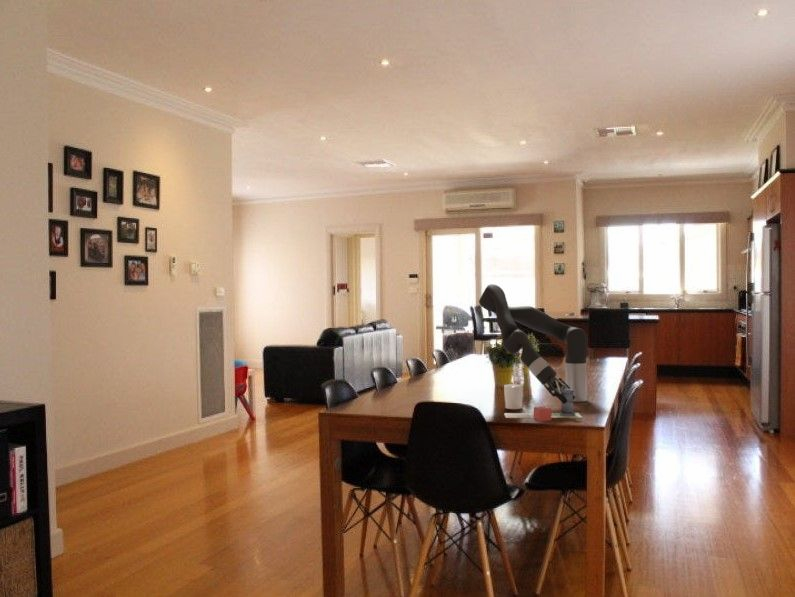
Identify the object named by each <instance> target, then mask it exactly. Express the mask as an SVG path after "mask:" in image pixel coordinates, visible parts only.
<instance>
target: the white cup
mask: <svg viewBox="0 0 795 597" xmlns="http://www.w3.org/2000/svg"><path fill="white" fill-rule="evenodd" d="M503 391H504V393H503V394H504V395H503V396H504V404H505V409H507V410H519V409H522V407H523V406H522V405H523V403H522V402H523V385H522V384H516V383H513V384H512V383H510V384H504V385H503Z"/></svg>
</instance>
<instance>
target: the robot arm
mask: <svg viewBox="0 0 795 597" xmlns="http://www.w3.org/2000/svg"><path fill="white" fill-rule="evenodd" d="M478 304H479V305H480V306H481V307H482V308H483V309H485V310H486V311H489V312H492V313H494V314H496V315H495V316H496V323H497V326H498V329H499V330H500V332H501V336H502V338H501V339H502V345H503V347H504V349H505V350H506V352H508V353H509V354H511V355H516V354H517V353H518V352H520V350H522V348H523V352H522V354H521V356H520V361H521V362H522V363H523V364H524V365H525V367H526V368H528V370H529V371H530V372H531V374H532V376H534V377H535V378H536V379H537V380H538V381H539V383H540V384H542V386H544V388H545V389H546V390H547V391H548V393H549V394H550V395H551V396H552V397H553V398H557V399H558V400H559V401H560V402H562V403H563V404H565V403H566V402H567V401H568V400H567V399H566V398H565V397H564V396H563V394H561V392H560V390H562V389H571V390H574V393H573V403H575V402H578V403H580V402H587V400H588V394H587V392H588V391H587V386H588V384H587V381H588V380H587V357H588V336H587V333H586V331H585V330H583V329H582V328H579V327H575V326H571V325H567V324H565V323H563V322H560V321H558V320H556V319H555V318H553V317H552V316H550V315H549V314H547V313H546V312H543V311H542V310H540V309H537V308H535V307H533V306H530V305H523V306H522V305H521V306H509V304H508V301H507V297H506V294H505V292H504V290H503V288H501V287H500V286H499V285H497V284H493V283H491V284H490V283H489V284H488V285H486V287H485V289H484V291H483V292H482V294H481V296H480V298H479V300H478ZM517 323H519V324H521V325H523V326H525V327H527V328H529V329H531V330H534V331H536V332H539V333H540V334H541V333H542V334H545V335H549V336H550V337H553V338H555V339H556V340H558V341H559V342H562V343H563V344H565V345H566V355H565V359H564V361H565V365H564V366H565V367H564V368H565V369H564V370H565V381H564V380H563V379H562V378H561V377H559V378H557V377H556V376H557V371H556V370H555V369H554V368H553V367H552V366H551V365H550V364H549V363H548V361H547V360H546V359H544V358H543V357H542V356H541V355H540V354H539V353H538V352H537V351H536V350H535V348H534V346H533V345H532V343H531V341H530V338H529V337H528V335H527V334H526V333H525V331H523V330H521V329H519V328H518V325H517Z"/></svg>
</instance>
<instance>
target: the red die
mask: <svg viewBox="0 0 795 597" xmlns="http://www.w3.org/2000/svg"><path fill="white" fill-rule="evenodd" d="M533 413H534V418H533V419H534V420H535V421H539V422H547V421H552V418H551V413H552V407H548V406H543V405H542V406H539V405H537V406H534V407H533Z"/></svg>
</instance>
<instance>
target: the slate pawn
mask: <svg viewBox="0 0 795 597" xmlns="http://www.w3.org/2000/svg"><path fill="white" fill-rule="evenodd" d="M560 392H561V394H563V396H564V397H565V398H566V399H567V400H568V401H567V402H566V403H565V404H563V403H562V402H561V401H560V402H561V409H560V410H561V411H560V412H559V413H560V415H561V416H575V413H576V412H574V402H573V393H574V390H571V389H562V390H560Z"/></svg>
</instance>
